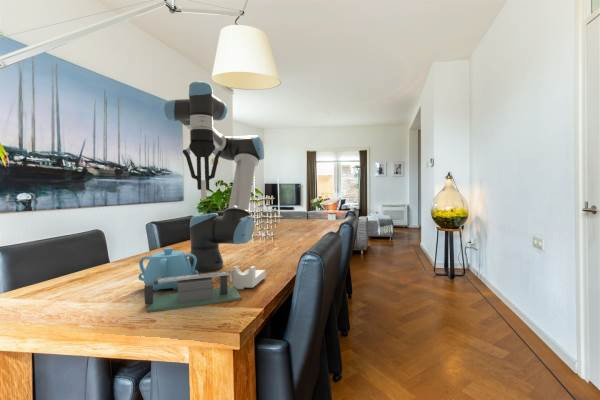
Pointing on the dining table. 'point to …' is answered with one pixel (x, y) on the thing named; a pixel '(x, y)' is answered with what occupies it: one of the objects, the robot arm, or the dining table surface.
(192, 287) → the heatsink board
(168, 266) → the decorative pot
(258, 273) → the bracket
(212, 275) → the strap
